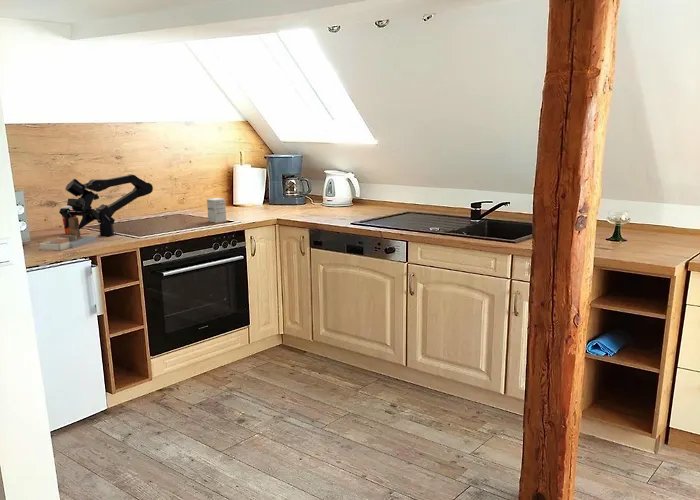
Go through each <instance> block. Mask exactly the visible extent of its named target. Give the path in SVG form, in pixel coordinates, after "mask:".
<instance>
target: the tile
mask: <svg viewBox="0 0 700 500" xmlns="http://www.w3.org/2000/svg"><path fill="white" fill-rule="evenodd" d="M55 240H56V243H65V242H69V237H61V238H59V237H57V238H55Z"/></svg>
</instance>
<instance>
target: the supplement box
mask: <svg viewBox="0 0 700 500" xmlns="http://www.w3.org/2000/svg"><path fill="white" fill-rule="evenodd" d="M206 205H207V220H208V222H209V223H216V224H217V223H222V222H227V211H226V199H225V198H221V197H214V198H206Z"/></svg>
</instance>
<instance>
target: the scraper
mask: <svg viewBox="0 0 700 500" xmlns="http://www.w3.org/2000/svg"><path fill="white" fill-rule="evenodd" d="M68 220H69V228H70V235H66V234H59V235H58V238H61V237H69V241H75V240H78V239H81V238H82V236H83V235H81V232H80V231H81V229H79V228H78V227H79V224H80V222H79V216H76V217H71V218H68Z"/></svg>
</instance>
